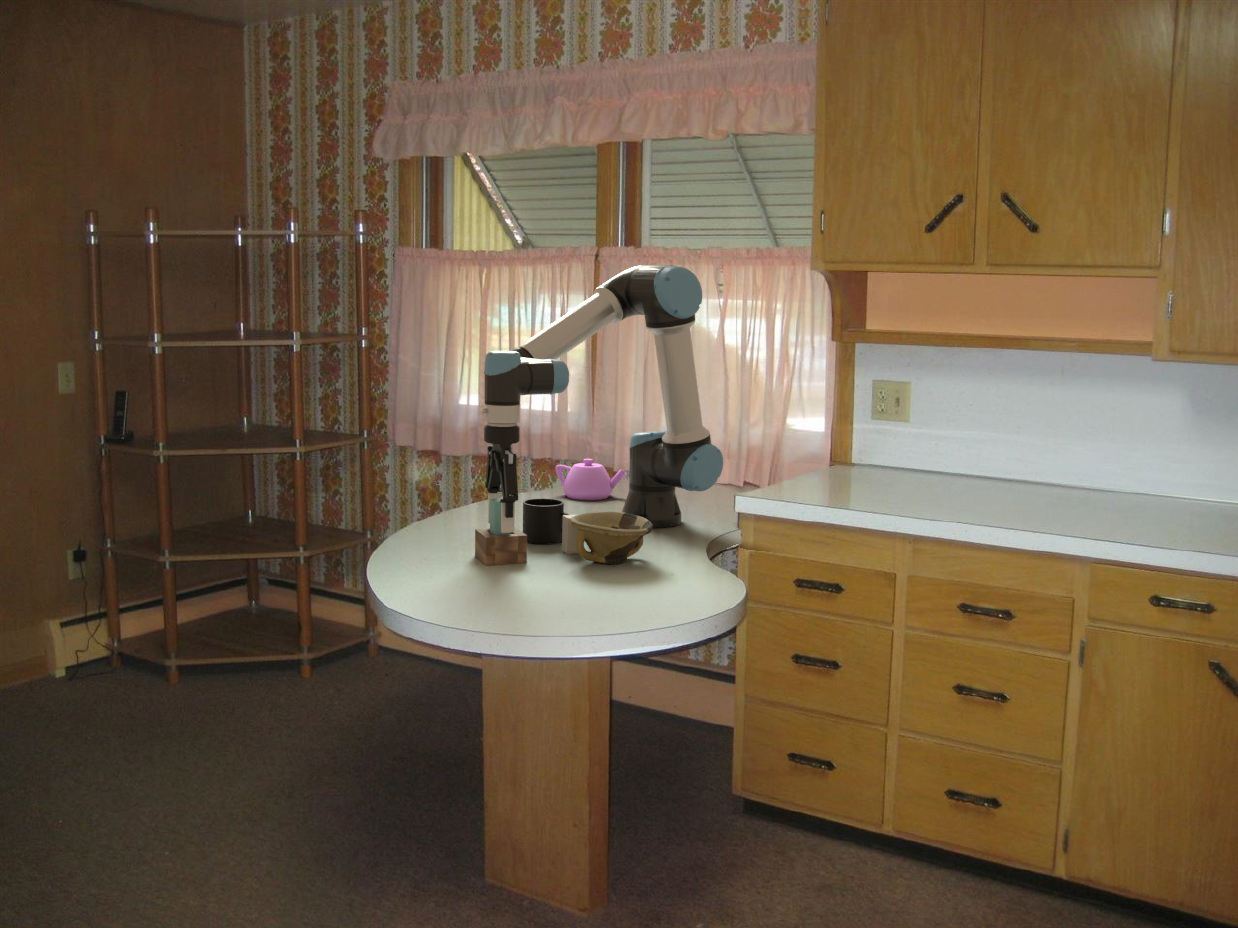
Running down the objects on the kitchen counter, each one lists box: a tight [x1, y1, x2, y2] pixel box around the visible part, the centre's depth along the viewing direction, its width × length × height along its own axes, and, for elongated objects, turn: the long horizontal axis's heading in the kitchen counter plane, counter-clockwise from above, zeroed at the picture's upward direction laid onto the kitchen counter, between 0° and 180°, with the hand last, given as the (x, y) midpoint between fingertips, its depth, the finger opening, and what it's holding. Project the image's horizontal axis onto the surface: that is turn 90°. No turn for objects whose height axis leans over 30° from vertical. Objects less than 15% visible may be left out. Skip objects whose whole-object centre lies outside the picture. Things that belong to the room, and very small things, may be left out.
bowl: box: [570, 511, 653, 565], centre depth 261 cm, size 18×18×10 cm
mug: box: [522, 498, 570, 545], centre depth 280 cm, size 9×12×9 cm
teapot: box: [555, 458, 627, 501], centre depth 336 cm, size 14×20×11 cm
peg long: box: [489, 498, 511, 535], centre depth 260 cm, size 4×4×13 cm
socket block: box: [474, 526, 528, 566], centre depth 261 cm, size 9×9×6 cm
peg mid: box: [561, 514, 579, 555], centre depth 270 cm, size 4×4×8 cm
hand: (500, 527), depth 260 cm, fingers open, 9 cm apart
